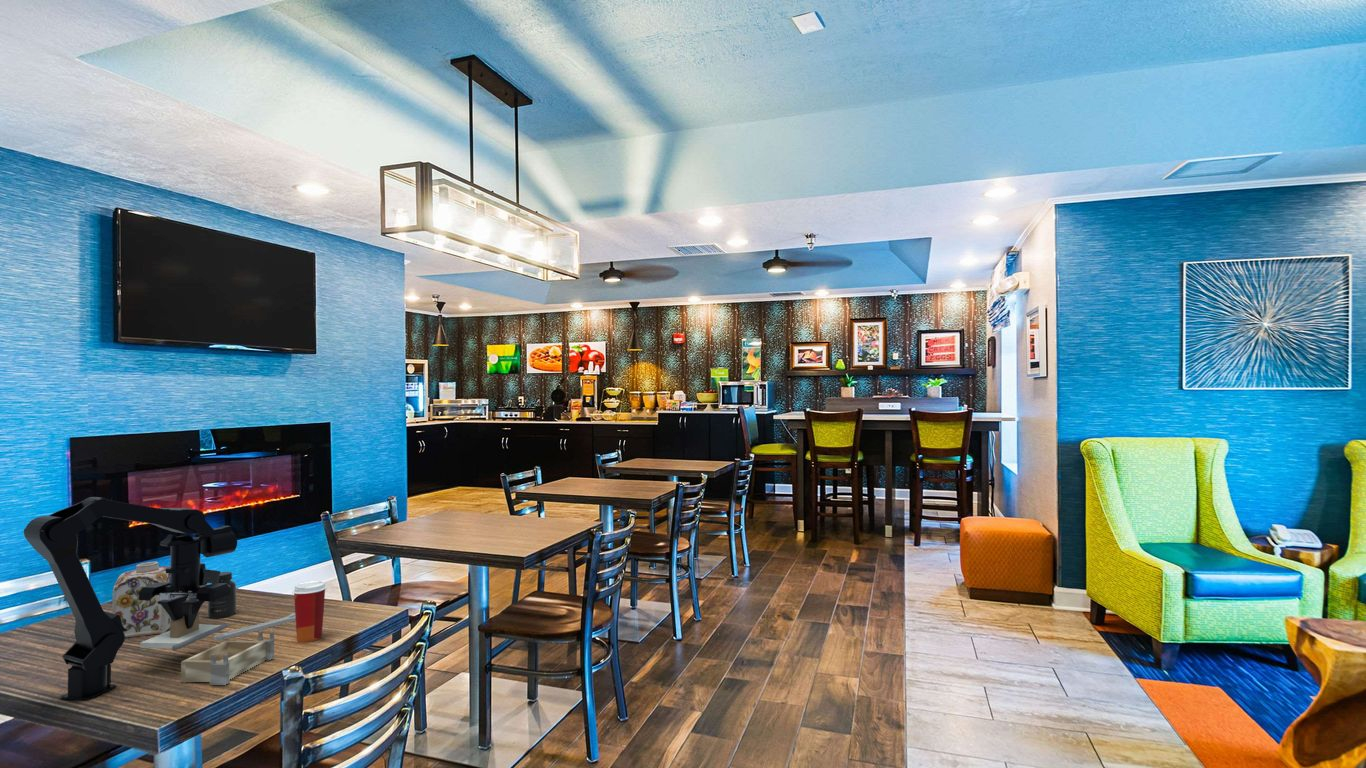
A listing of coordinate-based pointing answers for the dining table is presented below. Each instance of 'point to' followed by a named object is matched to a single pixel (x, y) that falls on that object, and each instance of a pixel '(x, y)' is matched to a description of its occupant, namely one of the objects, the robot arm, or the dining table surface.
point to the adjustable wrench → (255, 627)
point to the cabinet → (227, 660)
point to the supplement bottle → (224, 599)
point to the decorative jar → (141, 601)
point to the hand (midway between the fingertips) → (184, 628)
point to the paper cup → (309, 610)
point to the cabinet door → (181, 635)
